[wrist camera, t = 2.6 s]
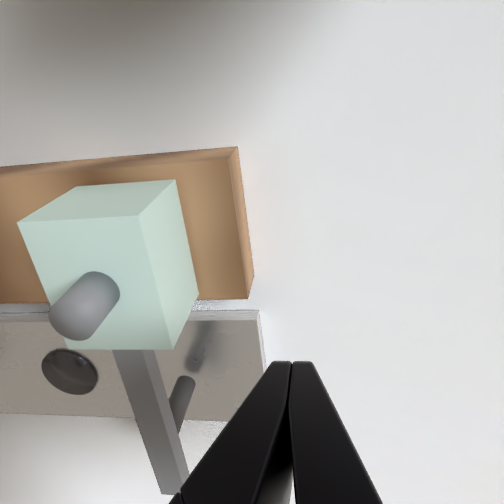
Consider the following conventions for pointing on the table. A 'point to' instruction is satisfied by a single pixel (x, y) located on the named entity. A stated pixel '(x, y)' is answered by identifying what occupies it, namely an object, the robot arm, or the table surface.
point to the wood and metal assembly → (138, 170)
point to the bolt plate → (107, 374)
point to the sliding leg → (123, 295)
